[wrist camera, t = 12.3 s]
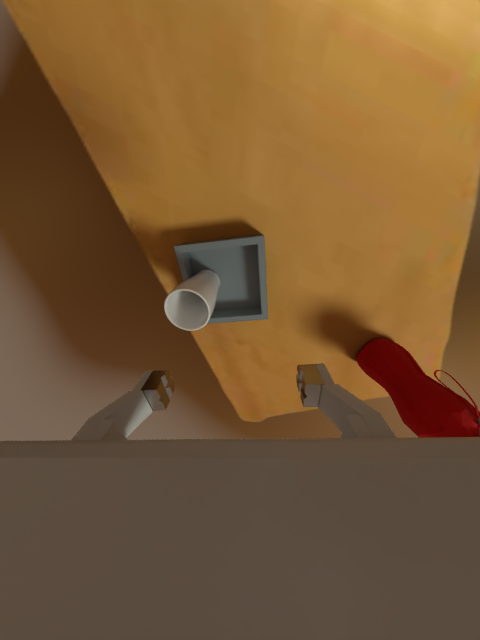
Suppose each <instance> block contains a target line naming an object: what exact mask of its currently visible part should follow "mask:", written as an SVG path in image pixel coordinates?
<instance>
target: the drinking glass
mask: <svg viewBox="0 0 480 640" xmlns="http://www.w3.org/2000/svg"><path fill="white" fill-rule="evenodd" d="M219 287H220V279H219V277H218V275H217V274H216V273H215V272H213V271H211V270H202V271H200V272H199V273H198V274H196V275H194V276H192V277H191V278H189V279H187V280H185V281H184V282H182V283H180V284H179V285H178V286H177V287H175V288H174V289H173V290H172V291H171V293H170V294H169V295H168V296H167V297H166V299H165V303H164V309H165V313H166V316H167V317H168V319H169V320H170V321H171V322H172V323H173V324H174V325H175V326H177V327H179V328H181V329H184V330H189V331H192V330H198V329H200V328H202V327H204V326H205V325H206V324H207V322H208V321H209V319H210V317H211V315H212V313H213V310H214V308H215V304H216V299H217V294H218V290H219Z"/></svg>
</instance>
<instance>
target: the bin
mask: <svg viewBox="0 0 480 640" xmlns="http://www.w3.org/2000/svg"><path fill="white" fill-rule="evenodd" d="M174 250H175V254H176V258H177V262H178V265H179V269H180V273H181V277H182V281H183V282H184V281H185V280H187V279H189V278H191V277H192V276H194V275H196V274H198V273H199V272H200V271H202V270H211V271H213V272H215V273H216V274H217V275H218V277H219V279H220V287H219V290H218V294H217V299H216V304H215V308H214V310H213V313H212V315H211V317H210V319H209V321H208V322H207V324H210V323H223V322H237V321H250V320H263V319H268V311H267V287H266V264H265V240H264V235H263V234H260V235H252V236H243V237H235V238H226V239H218V240H209V241H201V242H192V243H184V244H180V245H176V246H174Z"/></svg>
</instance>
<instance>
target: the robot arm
mask: <svg viewBox="0 0 480 640" xmlns="http://www.w3.org/2000/svg"><path fill="white" fill-rule="evenodd" d="M297 371H298V374H297V387H298V391H300V392H301V395H300V397H301V401H302V404H303V407H318V408H319V409H320V410H321V411H322V412H323V413H324V414H325V415H326V416H327V417H328V418H329V419H330V420H331V421H332V422H333V423H334V424H335V425H336V426H337V427H338V428H339V429H340V431H342V436H341V438H307V439H306V438H304V439H303V438H302V439H300V438H299V439H193V440H192V439H189V440H188V439H183V440H180V439H179V440H127V437H128V436H129V434H131V433H132V431H134V430H135V429H136V428H137V427H138V425H140V424H141V423H142V422H143V421H144V420H145V419H146V418H147V417H148V416H149V415H150V414H151V413H152V412H153V411H156V410H166V408H167V406H168V404H169V402H170V399H169V397H170V396H171V395H172V394H173V392H174V389H175V382H174V380H173V379H172V378H171V372H170V371H169V370H157V371H146V372H144V374H143V375H142V377H141V378H140V380H139V381H138V382H137V384H136V385H135V387H134V388H133V390H132V391H129V392H128V393H126V394H124V395H123V396H121V397H120V398H119V399H117V400H115V401H114V402H112V403H111V404H109V405H108V406H107V407H105V408H104V409H102V410H101V411H99V412H98V413H96V414H95V415H93V416H92V417H90V418H89V419H88V420H87V421H86V422H85V424H84V425H83V426H82V427H81V429H80V430H79V431H78V432H77V434H76V435H75V436H74V437H73V439H72V440H62V441H61V440H59V441H58V440H56V441H54V440H53V441H0V640H480V437H424V438H397V437H396V436H395V435H394V433H393V432H392V430H391V429H390V427H389V426H388V424H387V423H386V421H385V420H384V418H383V417H382V415H381V414H380V413H379V412H377V411H376V410H374V409H373V408H372V407H370V406H368V405H367V404H366V403H364V402H363V401H361V400H360V399H358V398H357V397H355V396H354V395H353V394H351V393H350V392H348V391H347V390H345V389H344V388H342V387H341V386H339V385H338V384H335V383H334V381H333V379H332V378H331V376H330V374H329V372H328V370H327V368H326V366H325V365H324V364H323V363H322V364H305V365H298V366H297Z"/></svg>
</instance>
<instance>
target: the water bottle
mask: <svg viewBox="0 0 480 640" xmlns="http://www.w3.org/2000/svg"><path fill="white" fill-rule="evenodd" d="M357 362H358V364H359V366H360V367H361V369H362V370H363V371H364V372H365V373H366V374H367V375H368V376H369V377H371V378H372V379H373V380H375V381H376V382H377V383H378V384H380V385H381V386H382V387H383V388H385V390H386V391H387V392H388V394H389V395H390V396H391V398H392V400H393V402H394V404H395V406H396V408H397V410H398V412H399V415H400V417H401V419H402V421H403V422H404V424H406V425H407V426H408V427H409V428H410V429H411V430H412V431H413V432H414V433H415V434H416V435H417V436H418V437H419V438H424V437H480V412H479V411H478V408H477V406H476V404H475V402H474V401H473V400H472V398H471V397H470V396H469V395H468V393H467V392H466V391H465V390H464V388H462V386H461V385H460V384H459V383H458V382H457V381H456V380H455V379H454V378H453V377H452V376H451V377H452V379H453V380H454V381H456V383H457V384H459V386H460V387H461V388H462V389H463V390H464V392H465V393H466V394H467V395H468V397H469V398H470V399H471V401H472V402H473V403H474V406H475V407H474V406H473V405H471V404H470V403H469V402H468V401H467V400H466V399H465V398H463V397H461V396H459V395H458V394H456V393H454V392H453V391H452V390H451V389H449V388H448V387H447V386H446V385H444V384H443V383H442V384H443V385H444V386H446V387H447V388H448V389H447V388H446V387H444V386H443V385H441V384H439V383H438V382H436V381H435V380H433V379H432V378H430V377H429V376H427V375H426V374H425V373H424V372H423V370H422V369H421V368H420V366H419V365H418V364H417V362H416V361H415V360H414V358H413V357H412V356H411V354H410V353H409V352H408V351H407V350H405V349H404V348H403V347H402V346H400V345H399V344H397V343H394V342H392V341H390V340H387V339H382V338H378V339H373V340H371V341H370V342H369V343H367V344H366V345H365V347H364V348H363V349H362V350H361V351H360V352H359V353H358V355H357ZM437 371H441V370H436V371H435V372H434V376H435V377H436V378H437V376H436V372H437ZM443 372H444V371H443ZM445 373H446V372H445ZM446 374H448V373H446ZM448 375H449V374H448ZM449 376H450V375H449ZM437 380H438V381H440V380H439V379H438V378H437ZM440 382H441V381H440Z"/></svg>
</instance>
